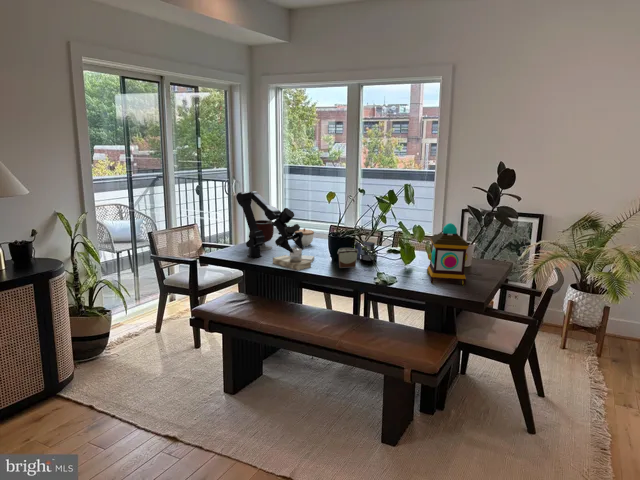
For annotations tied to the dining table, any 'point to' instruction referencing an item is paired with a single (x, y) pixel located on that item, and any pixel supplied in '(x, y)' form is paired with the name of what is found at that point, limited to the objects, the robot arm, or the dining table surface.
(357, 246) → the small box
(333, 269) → the dining table surface
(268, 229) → the mate gourd
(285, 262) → the plate
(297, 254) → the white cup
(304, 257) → the block
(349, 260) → the food container
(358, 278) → the dining table surface
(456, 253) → the decorative lantern
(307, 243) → the lidded bowl
